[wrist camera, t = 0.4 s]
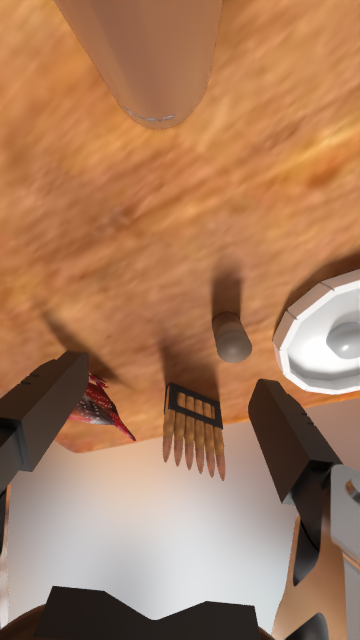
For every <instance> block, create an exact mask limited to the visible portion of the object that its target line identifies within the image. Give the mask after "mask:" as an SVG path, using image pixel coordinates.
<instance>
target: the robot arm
mask: <svg viewBox="0 0 360 640" xmlns="http://www.w3.org/2000/svg"><path fill="white" fill-rule="evenodd" d="M54 2H55V3H56V5H57V7H58V8H59V10H60V11H61V13H62V14H63V16H64V18H65V19H66V21H67V22H68V24H69V26H70V27H71V29H72V30H73V32H74V34H75V35H76V37H77V38H78V40H79V42H80V43H81V45H82V46H83V48H84V49H85V51H86V53H87V54H88V56H89V57H90V59H91V61H92V62H93V64H94V65H95V67H96V69H97V70H98V72H99V74H100V75H101V77H102V78H103V80H104V81H105V83H106V85H107V86H108V88H109V89H110V91H111V93H112V94H113V96H114V97H115V99H116V100H117V102H118V103H119V105H120V106H121V108H122V109H123V110H124V111H125V112H126V113H127V114H128V115H129V116H130V117H131V118H132V119H133V120H134V121H136V122H138V123H139V124H141V125H142V126H145V127H148V128H151V129H166V128H170V127H174V126H175V125H177V124H179V123H181V122H182V121H184V120H185V119H186V118H187V117H188V116H189V115H190V114H191V113H192V112H193V111H194V109H195V108H196V106H197V105H198V103H199V102H200V100H201V98H202V96H203V94H204V91H205V89H206V87H207V84H208V80H209V77H210V73H211V69H212V63H213V57H214V50H215V44H216V38H217V32H218V27H219V21H220V15H221V9H222V3H223V0H54ZM88 382H89V367H88V354H87V353H86V352H80V351H74V350H68V351H66V352H65V353H64V354H63V355H62V356H61V357H59V358H58V359H57V360H55V359H53V360H51V361H48V362H46V363H44V364H42V365H40V366H39V367H38V368H36V369H35V370H34V371H33V372H32V373H31V374H30V375H29V376H27V377H26V378H25V379H23V380H22V381H21V383H20V384H17V385H16V386H15V387H14V388H13V389H11V390H10V391H9V392H8V393H7V394H6V395H4V396H3V397H2V398H1V399H0V640H360V472H358V471H357V470H355V469H353V468H351V467H349V466H346V465H343V463H342V462H341V461H340V459H339V458H338V456H337V455H336V453H335V452H334V451H333V449H332V448H331V447H330V445H329V444H328V442H327V441H326V440H325V438H324V437H323V435H322V434H321V433H320V431H319V430H318V428H317V427H316V426H314V423H313V422H312V421H311V419H310V417H308V416H307V413H306V412H305V410H304V409H303V408H302V406H301V405H300V404H299V403H298V402H297V401H296V400H295V399H294V398H293V397H292V396H290V395H289V394H287V393H286V392H285V390H284V389H283V387H282V386H281V385H280V383H279V382H278V381H274V380H267V379H259V380H258V382H257V384H256V387H255V389H254V392H253V394H252V397H251V399H250V402H249V406H248V413H249V418H250V420H251V423H252V426H253V428H254V431H255V434H256V436H257V439H258V441H259V444H260V447H261V450H262V452H263V455H264V458H265V460H266V463H267V465H268V468H269V471H270V474H271V476H272V479H273V481H274V484H275V487H276V490H277V492H278V495H279V498H280V500H281V503H282V504H288V505H295V506H296V508H297V510H298V513H299V514H298V515H297V517H296V520H295V526H294V533H293V540H292V547H291V554H290V560H289V567H288V573H287V581H286V586H285V590H284V594H283V597H282V599H281V601H280V604H279V607H278V609H277V612H276V616H275V620H274V624H273V629H272V635H270V634H268V633H267V632H266V631H265V630H263V629H262V628H261V627H259V626H258V623H257V618H256V612H255V607H254V606H251V605H241V604H230V603H221V602H210V601H205V602H203V603H200V604H198V605H195V606H192V607H190V608H188V609H185V610H182V611H180V612H177V613H174V614H172V615H169V616H167V617H164V618H162V619H159V620H151V619H149V618H147V617H145V616H143V615H142V614H140V613H139V612H137V611H135V610H134V609H132V608H131V607H129V606H127V605H126V604H124V603H122V602H121V601H119V600H118V599H116V598H115V597H113V596H111V595H110V594H108V593H106V592H105V591H100V590H99V591H98V590H90V589H79V588H69V587H59V586H53V587H52V589H51V592H50V595H49V597H48V600H47V602H46V604H44V605H41V606H38V607H36V608H34V609H32V610H30V611H28V612H26V613H24V614H22V615H21V616H19V617H18V618H16V619H14V620H13V621H11V622H10V623H8V607H9V606H8V604H9V585H8V573H7V540H8V523H9V506H10V489H11V485H10V482H11V480H12V479H13V478H14V476H15V475H16V473H17V472H18V471H19V470H21V471H29V472H32V471H33V470H34V468H35V467H36V466H37V464H38V463H39V461H40V460H41V458H42V456H43V455H44V454H45V452H46V450H47V449H48V448H49V446H50V445H51V443H52V442H53V440H54V439H55V437H56V436H57V434H58V433H59V431H60V430H61V428H62V427H63V425H64V424H65V422H66V421H67V419H68V418H69V416H70V415H71V413H72V412H73V410H74V409H75V407H76V406H77V404H78V403H79V401H80V400H81V398H82V397H83V395H84V394H85V392H86V390H87V387H88Z"/></svg>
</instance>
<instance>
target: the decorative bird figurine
mask: <svg viewBox="0 0 360 640" xmlns="http://www.w3.org/2000/svg"><path fill="white" fill-rule="evenodd" d="M89 376H90V378H91V379H92V380H93V381H95V382H96V384H97V385H95V384H92V383H90V382H88V387H87V390H86V392H85V394H84V395H83V397H82V398H81V400H80V401H79V403H78V404H77V406H76V407H75V409H74V410H73V412H72V413H71V415H70V416H69V418H68V419H73V420H80V421H84V422H88V423H94V424H103V425H114V426H116V427H117V428H118V429H119V430H121V431H122V432H123V433H124V434H126V435H127V436H128V437H129V438H131V439H132V440H134V441H136V440H135V438H134V436H133V435H132V434H131V432H130V431H129V430H128V429H127V427H126V426H125V425H124V424H123V423H122V421H121V419H120V417H119V415H118V412H117V409H116V406H115V405H114V403H113V402H112V401H111V400H110V398H109V397H108V395H107V394H106V392H105V391H104V389H103V388H102V387H105V388H109V387H106V386H105V384H104V383H103V382H101V381H100V380H99V379H98V378H97V377H95V376H92V375H89Z"/></svg>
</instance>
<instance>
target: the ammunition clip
mask: <svg viewBox="0 0 360 640" xmlns="http://www.w3.org/2000/svg"><path fill="white" fill-rule="evenodd" d="M164 415H165V416H164V425H163V432H164V434H163V458H164V462H165V463H166V462H167V460H168V458H169V455H170V450H171V444H172V436H173V431H174V456H175V462H176V465H177V466H179V464H180V461H181V457H182V450H183V437H184V439H185V456H186V463H187V467H188V470H190V469H191V466H192V462H193V447H194V442H195V450H196V461H197V466H198V470H199V473H200V474H201V473H202V471H203V466H204V446H205V451H206V459H207V466H208V470H209V473H210V476H211V477H213V475H214V469H215V458H214V450H215V455H216V461H217V467H218V471H219V474H220V477H221V479H222V481H224V478H225V459H224V444H223V437H222V429H223V424H222V416H221V409H220V403H219V402H217V401H214V400H212V399H209V398H207V397H205V396H202V395H200V394H197V393H195V392H193V391H190V390H188V389H185V388H183V387H181V386H178V385H176V384H173V383H170V384H169V385H168V386H167V388H166V391H165V405H164Z"/></svg>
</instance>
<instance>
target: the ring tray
mask: <svg viewBox="0 0 360 640" xmlns="http://www.w3.org/2000/svg"><path fill="white" fill-rule="evenodd" d="M287 310H288V311H285V313H284V315H283V317H282V320H281V322H280V324H279V326H278V328H277V330H276V333H275V335H274V337H273V341H272V342H273V346H274V351H275V356H276V361H277V364H278V366H279V367H280V369H281V371H282V373H283V374H284V376H285V377H287V378H288V379H289V380H291V381H292V382H293V383H295V384H296V385H298V386H299V387H300V388H302V389H303V390H305V391H311V392H318V393H326V394H333V395H335V394H336V395H337V394H342V393H347V392H352V391H356V390H360V269H357V270H354V271H351V272H348V273H345V274H342V275H339V276H336V277H333V278H330V279H327V280H324V281H321V284H320V283H318V284H316V285H315V286H314V287H313V288H312V289H310V290H309V291H308V292H307V293H306V294H304V295H303V296H302V297H301V298H300V299H298V300H297V301H296V302H295V303H294V304H292V305H291V306H290V307H289V308H288V309H287Z"/></svg>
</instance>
